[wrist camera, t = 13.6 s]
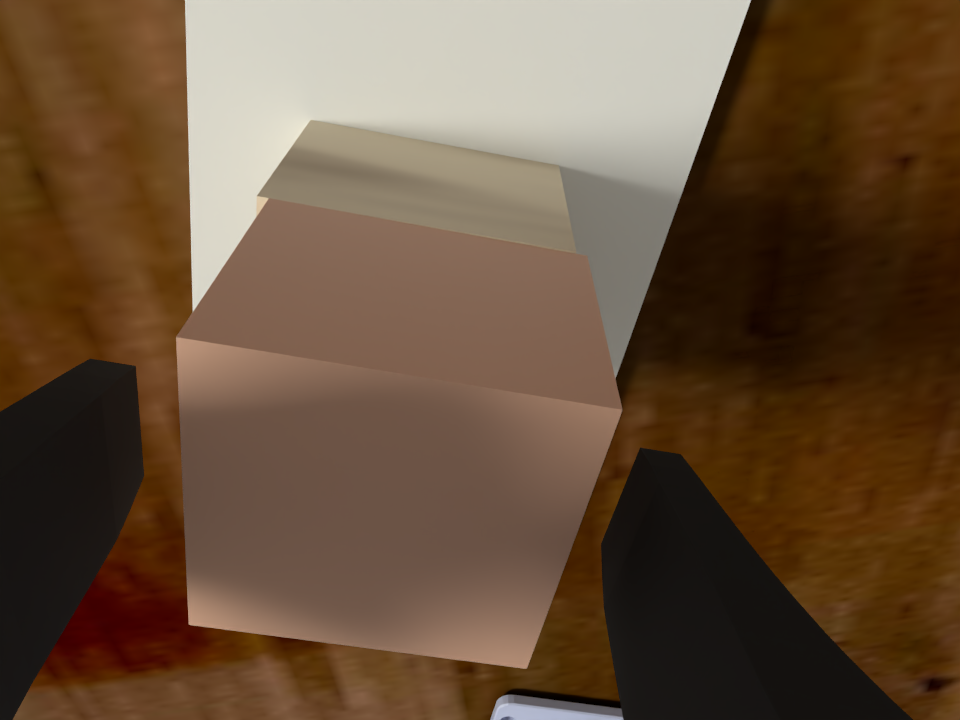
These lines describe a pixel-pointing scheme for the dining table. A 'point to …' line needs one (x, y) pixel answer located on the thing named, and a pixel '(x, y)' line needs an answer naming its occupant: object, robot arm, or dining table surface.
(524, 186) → the ash brick
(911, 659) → the dining table surface
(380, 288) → the terracotta brick
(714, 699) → the robot arm
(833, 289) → the dining table surface
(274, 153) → the mat
